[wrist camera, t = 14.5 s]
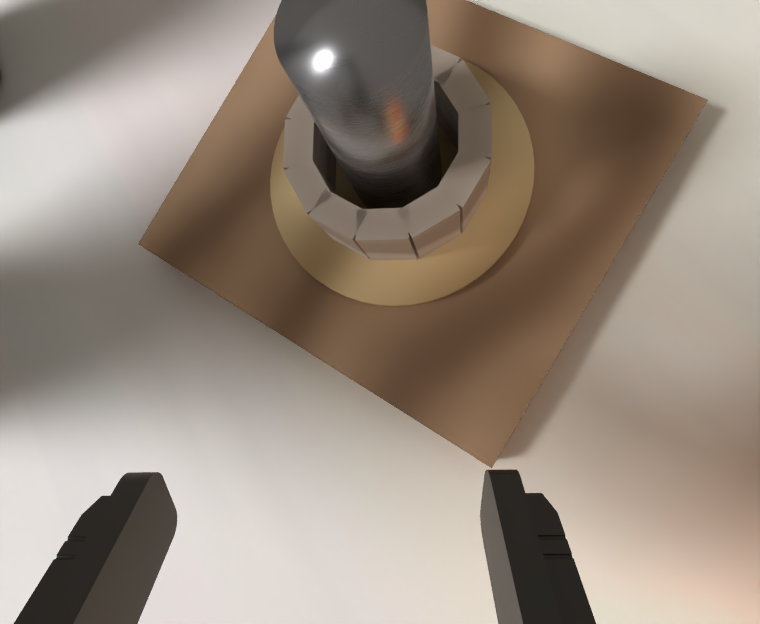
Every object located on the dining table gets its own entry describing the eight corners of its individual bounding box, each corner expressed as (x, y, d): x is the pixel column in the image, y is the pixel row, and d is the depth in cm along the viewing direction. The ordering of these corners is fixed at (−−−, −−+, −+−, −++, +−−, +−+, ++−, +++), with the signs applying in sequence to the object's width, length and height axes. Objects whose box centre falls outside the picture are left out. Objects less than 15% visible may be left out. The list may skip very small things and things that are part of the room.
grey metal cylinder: (355, 222, 21) (275, 107, 12) (351, 138, 22) (271, -33, 13) (444, 212, 21) (433, 84, 11) (438, 126, 21) (421, -63, 12)
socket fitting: (157, 251, 25) (74, 219, 20) (328, -35, 26) (293, -143, 20) (489, 461, 21) (499, 492, 16) (690, 118, 21) (767, 34, 16)
